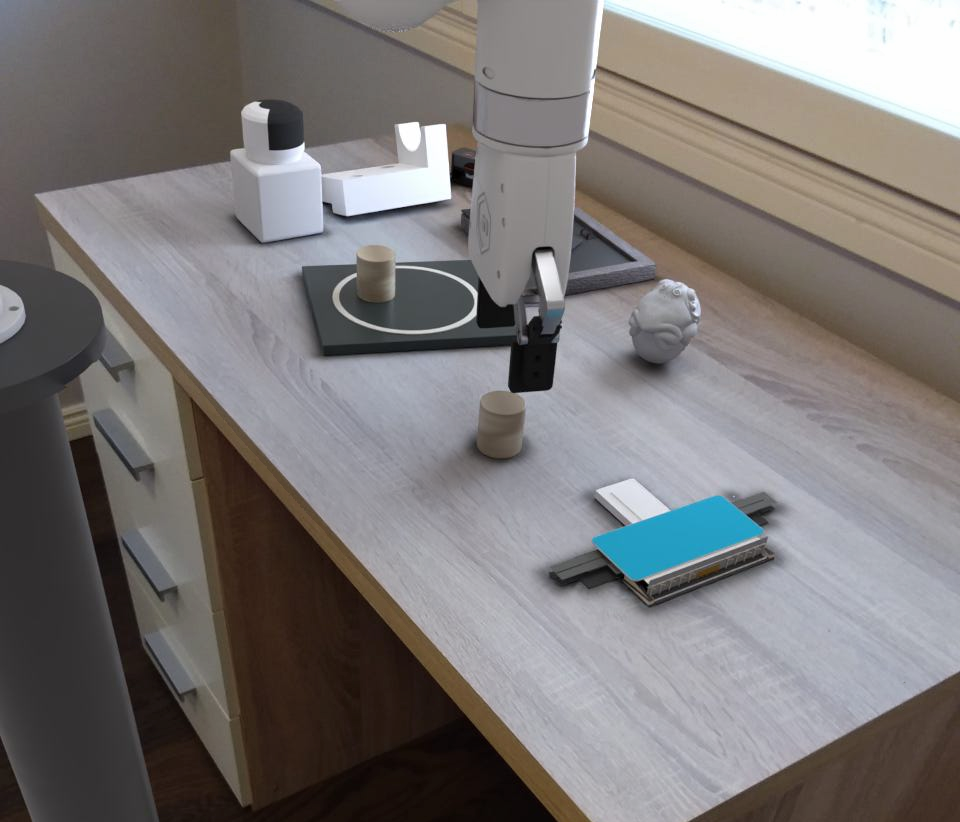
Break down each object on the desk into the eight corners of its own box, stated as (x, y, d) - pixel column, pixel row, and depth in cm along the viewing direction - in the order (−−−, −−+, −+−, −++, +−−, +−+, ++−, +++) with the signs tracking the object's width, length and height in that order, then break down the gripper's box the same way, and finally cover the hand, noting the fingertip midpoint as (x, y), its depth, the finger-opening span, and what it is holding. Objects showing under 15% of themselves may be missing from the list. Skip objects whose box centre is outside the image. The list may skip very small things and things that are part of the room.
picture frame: (460, 227, 115) (543, 299, 104) (461, 209, 114) (545, 279, 102) (564, 212, 120) (654, 278, 109) (566, 194, 119) (657, 260, 108)
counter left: (360, 303, 98) (359, 262, 95) (354, 286, 101) (353, 245, 98) (398, 302, 99) (398, 260, 96) (391, 284, 101) (391, 244, 99)
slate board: (323, 355, 93) (322, 344, 92) (302, 275, 104) (301, 264, 103) (519, 344, 97) (520, 333, 96) (478, 268, 108) (479, 257, 107)
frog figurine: (705, 358, 97) (722, 286, 92) (661, 384, 93) (677, 310, 89) (651, 334, 100) (665, 263, 95) (607, 358, 96) (619, 285, 91)
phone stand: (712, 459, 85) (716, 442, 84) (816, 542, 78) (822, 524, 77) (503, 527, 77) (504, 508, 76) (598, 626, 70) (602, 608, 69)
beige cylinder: (482, 460, 83) (486, 416, 80) (472, 435, 85) (475, 391, 83) (526, 456, 84) (531, 413, 81) (514, 432, 86) (519, 388, 83)
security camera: (296, 208, 116) (290, 90, 108) (324, 233, 112) (320, 112, 103) (235, 218, 113) (223, 97, 105) (261, 244, 109) (251, 121, 100)
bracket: (421, 193, 124) (414, 121, 120) (451, 198, 118) (445, 124, 115) (319, 209, 118) (309, 135, 114) (346, 216, 113) (336, 138, 109)
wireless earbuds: (456, 173, 127) (457, 144, 124) (506, 189, 124) (508, 160, 122) (433, 183, 124) (434, 155, 121) (484, 200, 121) (486, 171, 119)
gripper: (445, 72, 72) (439, 307, 84) (509, 163, 60) (491, 422, 72) (550, 71, 74) (529, 301, 86) (632, 159, 62) (595, 413, 74)
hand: (512, 356), depth 79 cm, fingers open, 9 cm apart
